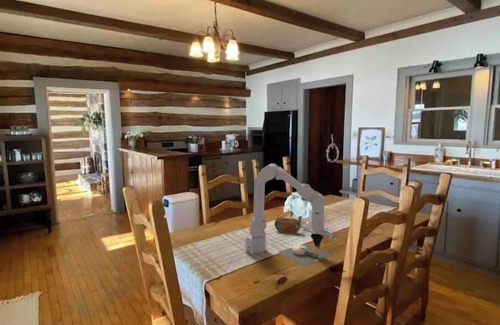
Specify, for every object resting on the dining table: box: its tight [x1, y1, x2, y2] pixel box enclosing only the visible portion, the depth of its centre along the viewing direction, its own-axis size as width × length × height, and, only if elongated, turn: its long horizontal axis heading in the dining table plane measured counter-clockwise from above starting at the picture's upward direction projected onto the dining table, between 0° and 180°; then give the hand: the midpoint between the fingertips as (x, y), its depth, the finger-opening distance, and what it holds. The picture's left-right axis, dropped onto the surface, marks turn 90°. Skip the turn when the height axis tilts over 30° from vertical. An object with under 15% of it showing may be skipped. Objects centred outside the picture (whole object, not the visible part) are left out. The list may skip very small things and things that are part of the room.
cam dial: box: [291, 244, 318, 257], centre depth 140 cm, size 13×7×5 cm, turn 49°
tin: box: [274, 216, 301, 234], centre depth 174 cm, size 15×3×8 cm, turn 62°
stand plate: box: [278, 243, 333, 267], centre depth 141 cm, size 18×18×2 cm
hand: (317, 249), depth 139 cm, fingers closed, pressing on cam dial
